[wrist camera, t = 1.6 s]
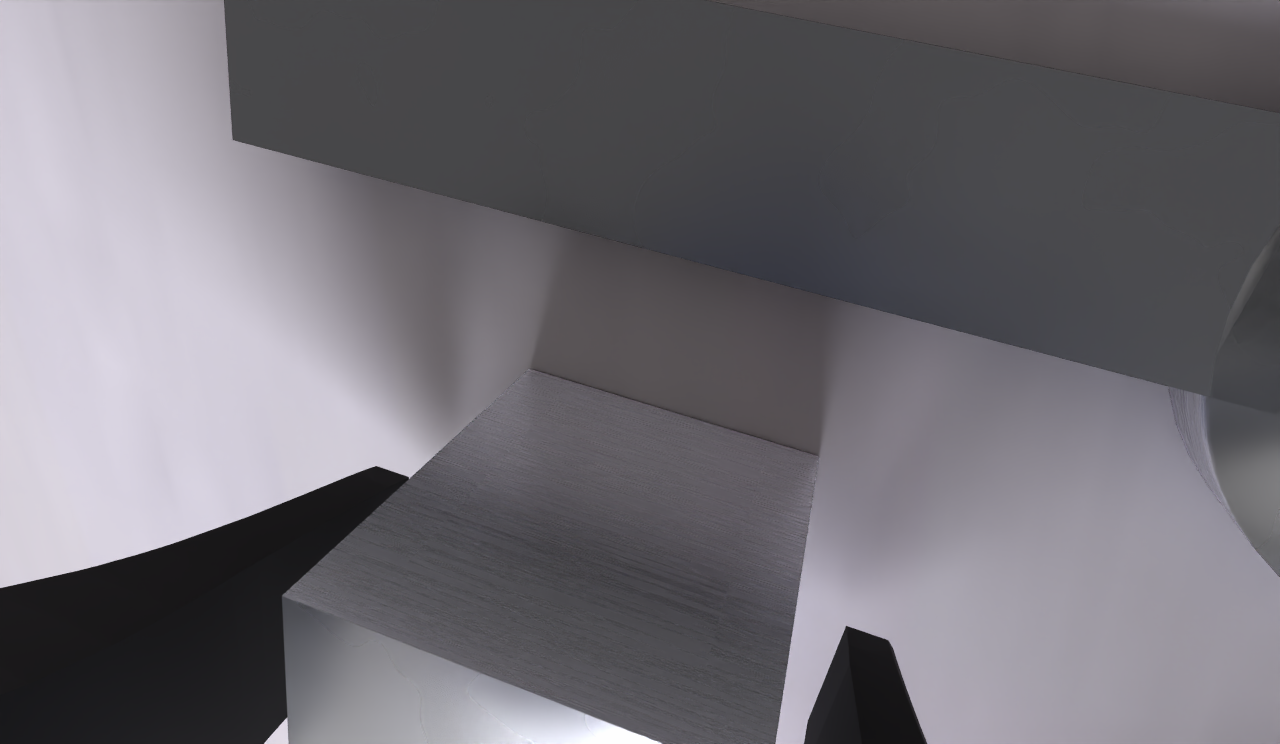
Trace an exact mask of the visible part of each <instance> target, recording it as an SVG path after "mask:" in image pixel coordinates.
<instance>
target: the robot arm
mask: <svg viewBox="0 0 1280 744" xmlns="http://www.w3.org/2000/svg"><path fill="white" fill-rule="evenodd" d="M408 480H409V477H407V476H404V475H401V474H398V473H395V472H392V471H389V470H386V469H383V468H380V467H377V466H375V467H372V468H369V469H367V470H364V471H361V472H358V473H356V474H353V475H351V476H348V477H346V478H343V479H341V480H338V481H336V482H333V483H331V484H329V485H326V486H324V487H321V488H319V489H316V490H314V491H311V492H309V493H307V494H304V495H302V496H299V497H297V498H294V499H292V500H289V501H287V502H284V503H282V504H279V505H277V506H274V507H272V508H269V509H267V510H264V511H262V512H259V513H257V514H254V515H252V516H249V517H246V518H244V519H241V520H238V521H235V522H233V523H230V524H227V525H224V526H221V527H219V528H216V529H213V530H210V531H207V532H205V533H202V534H199V535H196V536H193V537H191V538H188V539H185V540H182V541H179V542H176V543H173V544H170V545H167V546H164V547H161V548H158V549H155V550H151V551H148V552H145V553H141V554H138V555H135V556H131V557H127V558H124V559H120V560H117V561H113V562H110V563H106V564H102V565H99V566H95V567H91V568H87V569H83V570H80V571H75V572H71V573H66V574H62V575H57V576H53V577H48V578H44V579H40V580H35V581H31V582H26V583H22V584H17V585H13V586H8V587H4V588H0V744H264V743H265V742H266V740H267V739H268V738H269V737H270V736H271V735H272V733H273V732H274V731H275V730H276V729H277V728H278V727H279V726H280V724H281V723H282V722H283V721H284V720H285V719H286V718H287V695H286V674H285V652H284V631H283V609H282V595H283V594H284V593H286V592H287V591H288V590H289V589H290V588H291V587H292V586H293V585H294V584H295V583H296V582H298V581H299V580H300V579H301V578H302V577H303V576H304V575H305V574H306V573H307V572H308V571H309V570H311V569H312V568H313V567H314V566H315V565H316V564H317V563H318V562H319V561H320V560H321V559H323V558H324V557H325V556H326V555H327V554H328V553H329V552H330V551H331V550H332V549H333V548H335V547H336V546H337V545H338V544H339V543H340V542H341V541H342V540H343V539H344V538H345V537H347V536H348V535H349V534H350V533H351V532H352V531H353V530H354V529H355V528H356V527H357V526H359V525H360V524H361V523H362V522H363V521H364V520H365V519H366V518H367V517H368V516H369V515H370V514H372V513H373V512H374V511H375V510H376V509H377V508H378V507H379V506H380V505H381V504H382V503H384V502H385V501H386V500H387V499H388V498H389V497H390V496H391V495H392V494H393V493H394V492H396V491H397V490H398V489H399V488H400V487H401V486H402V485H403V484H404V483H405V482H406V481H408ZM804 744H927V742H926V739H925V737H924V734H923V732H922V729H921V727H920V724H919V722H918V719H917V716H916V714H915V711H914V708H913V706H912V703H911V700H910V697H909V695H908V692H907V689H906V686H905V683H904V680H903V678H902V675H901V672H900V669H899V666H898V663H897V660H896V656H895V653H894V650H893V648H892V646H891V644H890V642H889V641H888V640H886V639H883V638H880V637H877V636H874V635H871V634H868V633H865V632H862V631H860V630H857V629H854V628H851V627H848V626H846V628H845V631H844V633H843V635H842V638H841V640H840V643H839V645H838V648H837V650H836V653H835V655H834V658H833V660H832V663H831V665H830V668H829V670H828V673H827V675H826V678H825V680H824V682H823V685H822V687H821V690H820V692H819V695H818V697H817V700H816V702H815V705H814V707H813V710H812V712H811V715H810V717H809V720H808V724H807V729H806V735H805V741H804Z"/></svg>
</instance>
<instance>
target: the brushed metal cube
mask: <svg viewBox="0 0 1280 744" xmlns="http://www.w3.org/2000/svg"><path fill="white" fill-rule="evenodd" d="M818 461H819V456H816V455H813V454H810V453H806V452H803V451H800V450H796V449H793V448H790V447H786V446H783V445H780V444H777V443H773V442H770V441H767V440H763V439H760V438H757V437H753V436H750V435H747V434H744V433H740V432H737V431H734V430H730V429H727V428H724V427H720V426H717V425H714V424H711V423H707V422H704V421H701V420H697V419H694V418H691V417H688V416H684V415H681V414H678V413H674V412H671V411H668V410H664V409H661V408H658V407H655V406H651V405H648V404H645V403H641V402H638V401H635V400H631V399H628V398H625V397H622V396H618V395H615V394H612V393H608V392H605V391H602V390H598V389H595V388H592V387H589V386H585V385H582V384H579V383H575V382H572V381H569V380H565V379H562V378H559V377H556V376H552V375H549V374H546V373H542V372H539V371H536V370H532V369H528V370H527V371H526V372H525V373H524V374H523V375H522V376H521V377H520V378H519V379H518V380H516V381H515V382H514V383H513V384H512V385H511V386H510V387H509V388H508V389H507V390H506V391H505V392H503V393H502V394H501V395H500V396H499V397H498V398H497V399H496V400H495V401H494V402H493V403H491V404H490V405H489V406H488V407H487V408H486V409H485V410H484V411H483V412H482V413H481V414H479V415H478V416H477V417H476V418H475V419H474V420H473V421H472V422H471V423H470V424H469V425H467V426H466V427H465V428H464V429H463V430H462V431H461V432H460V433H459V434H458V435H457V436H455V437H454V438H453V439H452V440H451V441H450V442H449V443H448V444H447V445H446V446H445V447H443V448H442V449H441V450H440V451H439V452H438V453H437V454H436V455H435V456H434V457H433V458H432V459H430V460H429V461H428V462H427V463H426V464H425V465H424V466H423V467H422V468H421V469H420V470H418V471H417V472H416V473H415V474H414V475H413V476H412V477H411V478H410V479H409V480H408V481H406V482H405V483H404V484H403V485H402V486H401V487H400V488H399V489H398V490H397V491H396V492H394V493H393V494H392V495H391V496H390V497H389V498H388V499H387V500H386V501H385V502H384V503H382V504H381V505H380V506H379V507H378V508H377V509H376V510H375V511H374V512H373V513H372V514H370V515H369V516H368V517H367V518H366V519H365V520H364V521H363V522H362V523H361V524H360V525H359V526H357V527H356V528H355V529H354V530H353V531H352V532H351V533H350V534H349V535H348V536H347V537H345V538H344V539H343V540H342V541H341V542H340V543H339V544H338V545H337V546H336V547H335V548H333V549H332V550H331V551H330V552H329V553H328V554H327V555H326V556H325V557H324V558H323V559H321V560H320V561H319V562H318V563H317V564H316V565H315V566H314V567H313V568H312V569H311V570H309V571H308V572H307V573H306V574H305V575H304V576H303V577H302V578H301V579H300V580H299V581H298V582H296V583H295V584H294V585H293V586H292V587H291V588H290V589H289V590H288V591H287V592H286V593H284V594H283V595H282V609H283V631H284V652H285V674H286V695H287V717H288V739H289V744H775V742H776V735H777V729H778V722H779V716H780V709H781V703H782V696H783V690H784V683H785V677H786V670H787V664H788V657H789V651H790V644H791V637H792V631H793V624H794V618H795V611H796V605H797V598H798V592H799V585H800V579H801V572H802V566H803V559H804V553H805V546H806V540H807V533H808V526H809V520H810V513H811V507H812V500H813V494H814V487H815V481H816V474H817V468H818Z"/></svg>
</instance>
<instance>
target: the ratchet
mask: <svg viewBox="0 0 1280 744" xmlns="http://www.w3.org/2000/svg"><path fill="white" fill-rule="evenodd" d="M224 7H225V23H226V40H227V56H228V72H229V88H230V104H231V120H232V136H233V140H235V141H239V142H242V143H246V144H250V145H254V146H258V147H261V148H265V149H269V150H273V151H277V152H280V153H284V154H288V155H292V156H296V157H299V158H303V159H307V160H311V161H315V162H318V163H322V164H326V165H330V166H334V167H337V168H341V169H345V170H349V171H353V172H356V173H360V174H364V175H368V176H371V177H375V178H379V179H383V180H387V181H390V182H394V183H398V184H402V185H406V186H409V187H413V188H417V189H421V190H425V191H428V192H432V193H436V194H440V195H444V196H447V197H451V198H455V199H459V200H463V201H466V202H470V203H474V204H478V205H482V206H485V207H489V208H493V209H497V210H501V211H504V212H508V213H512V214H516V215H520V216H523V217H527V218H531V219H535V220H539V221H542V222H546V223H550V224H554V225H558V226H561V227H565V228H569V229H573V230H577V231H580V232H584V233H588V234H592V235H596V236H599V237H603V238H607V239H611V240H615V241H618V242H622V243H626V244H630V245H634V246H637V247H641V248H645V249H649V250H653V251H656V252H660V253H664V254H668V255H672V256H675V257H679V258H683V259H687V260H691V261H694V262H698V263H702V264H706V265H710V266H713V267H717V268H721V269H725V270H729V271H732V272H736V273H740V274H744V275H748V276H751V277H755V278H759V279H763V280H767V281H770V282H774V283H778V284H782V285H786V286H789V287H793V288H797V289H801V290H805V291H808V292H812V293H816V294H820V295H824V296H827V297H831V298H835V299H839V300H843V301H846V302H850V303H854V304H858V305H862V306H865V307H869V308H873V309H877V310H880V311H884V312H888V313H892V314H896V315H899V316H903V317H907V318H911V319H915V320H918V321H922V322H926V323H930V324H934V325H937V326H941V327H945V328H949V329H953V330H956V331H960V332H964V333H968V334H972V335H975V336H979V337H983V338H987V339H991V340H994V341H998V342H1002V343H1006V344H1010V345H1013V346H1017V347H1021V348H1025V349H1029V350H1032V351H1036V352H1040V353H1044V354H1048V355H1051V356H1055V357H1059V358H1063V359H1067V360H1070V361H1074V362H1078V363H1082V364H1086V365H1089V366H1093V367H1097V368H1101V369H1105V370H1108V371H1112V372H1116V373H1120V374H1124V375H1127V376H1131V377H1135V378H1139V379H1143V380H1146V381H1150V382H1154V383H1158V384H1162V385H1165V386H1169V394H1170V398H1171V403H1172V407H1173V412H1174V417H1175V421H1176V425H1177V427H1178V430H1179V432H1180V435H1181V437H1182V440H1183V442H1184V444H1185V447H1186V449H1187V452H1188V454H1189V456H1190V458H1191V460H1192V461H1193V463H1194V464H1195V466H1196V468H1197V469H1198V471H1199V472H1200V474H1201V476H1202V477H1203V479H1204V480H1205V482H1206V484H1207V485H1208V486H1209V488H1210V489H1211V491H1212V492H1213V493H1214V495H1215V496H1216V497H1217V499H1218V500H1219V501H1220V503H1221V504H1222V505H1223V507H1224V508H1225V510H1226V511H1227V512H1228V514H1229V515H1230V516H1231V518H1232V519H1233V520H1234V522H1235V523H1236V524H1237V526H1238V527H1239V528H1240V530H1241V531H1242V533H1243V534H1244V535H1245V537H1246V538H1247V539H1248V541H1249V542H1250V543H1251V545H1252V546H1253V547H1254V548H1255V549H1256V551H1257V552H1258V553H1259V554H1260V555H1261V556H1262V558H1263V559H1264V560H1265V561H1266V562H1267V563H1268V564H1269V566H1270V567H1271V568H1272V569H1273V570H1274V571H1275V572H1276V574H1277V575H1278V576H1279V577H1280V113H1276V112H1271V111H1266V110H1261V109H1256V108H1251V107H1246V106H1241V105H1236V104H1231V103H1226V102H1220V101H1215V100H1210V99H1205V98H1200V97H1195V96H1190V95H1185V94H1180V93H1175V92H1169V91H1164V90H1159V89H1154V88H1149V87H1144V86H1139V85H1134V84H1129V83H1124V82H1119V81H1113V80H1108V79H1103V78H1098V77H1093V76H1088V75H1083V74H1078V73H1073V72H1068V71H1063V70H1057V69H1052V68H1047V67H1042V66H1037V65H1032V64H1027V63H1022V62H1017V61H1012V60H1007V59H1001V58H996V57H991V56H986V55H981V54H976V53H971V52H966V51H961V50H956V49H951V48H945V47H940V46H935V45H930V44H925V43H920V42H915V41H910V40H905V39H900V38H895V37H889V36H884V35H879V34H874V33H869V32H864V31H859V30H854V29H849V28H844V27H838V26H833V25H828V24H823V23H818V22H813V21H808V20H803V19H798V18H793V17H788V16H782V15H777V14H772V13H767V12H762V11H757V10H752V9H747V8H742V7H737V6H732V5H726V4H721V3H716V2H711V1H706V0H224Z"/></svg>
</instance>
